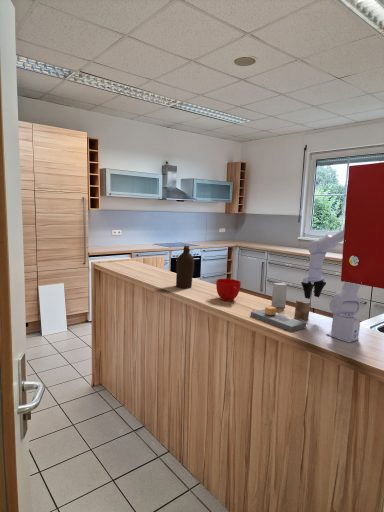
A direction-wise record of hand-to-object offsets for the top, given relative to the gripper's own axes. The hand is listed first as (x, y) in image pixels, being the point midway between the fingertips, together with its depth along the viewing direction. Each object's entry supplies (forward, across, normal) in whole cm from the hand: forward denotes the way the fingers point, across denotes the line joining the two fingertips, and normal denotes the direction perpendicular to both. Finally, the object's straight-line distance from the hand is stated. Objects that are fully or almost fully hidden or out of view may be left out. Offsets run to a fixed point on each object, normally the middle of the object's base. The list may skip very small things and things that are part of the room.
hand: (312, 297), depth 149 cm
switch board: (+10, +17, -5) cm, 21 cm away
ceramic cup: (+10, +12, -41) cm, 44 cm away
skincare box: (+10, -4, -21) cm, 24 cm away
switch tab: (+8, +17, -9) cm, 21 cm away
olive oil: (+10, +15, -76) cm, 78 cm away
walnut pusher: (+10, +2, -3) cm, 11 cm away
